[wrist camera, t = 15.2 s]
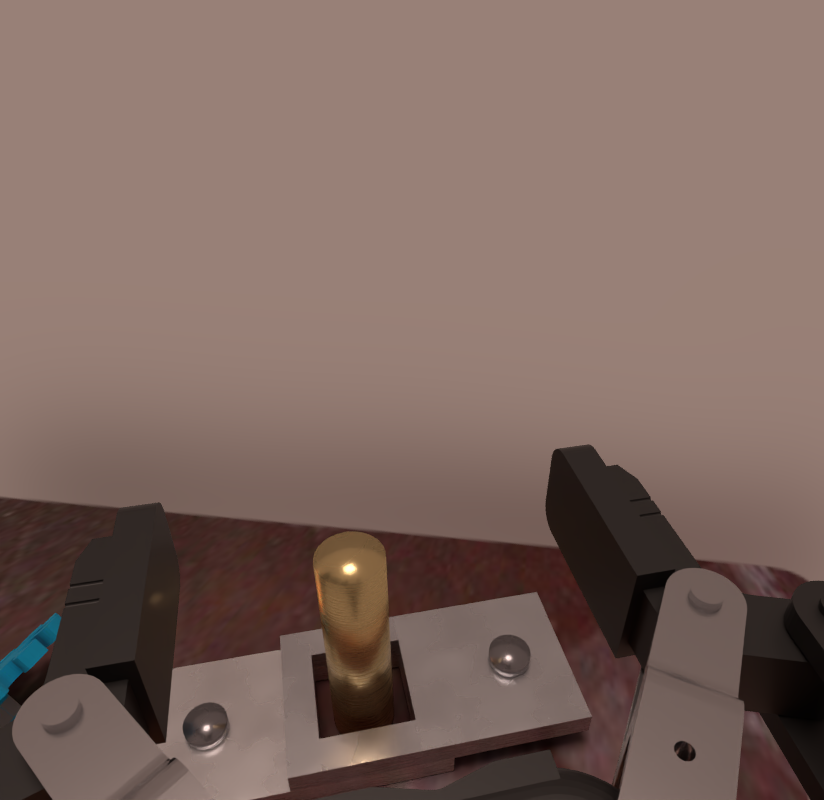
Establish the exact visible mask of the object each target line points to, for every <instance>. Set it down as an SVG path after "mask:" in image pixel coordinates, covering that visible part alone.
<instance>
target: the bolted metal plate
mask: <svg viewBox="0 0 824 800" xmlns="http://www.w3.org/2000/svg"><path fill="white" fill-rule="evenodd" d="M389 627H390V646H391V665H392V668H394V667H399V668H400V672H401V677H402V682H403V686H404V691H405V696H406V701H407V705H408V710H409V715H410V720H411V721H409V722H403V723H398V724H393V725H388V726H383V727H378V728H373V729H368V730H362V731H357V732H352V733H347V734H342V735H337V736H332V737H327V738H322V739H321V738H320V727H319V717H318V707H317V696H316V686H315V682H317V681H322V680H328V679H329V676H328V668H327V661H326V654H325V646H324V639H323V632H322V629H318V630H312V631H306V632H301V633H295V634H289V635H283V636H280V644H281V650H277V651H271V652H265V653H260V654H254V655H248V656H242V657H237V658H231V659H225V660H219V661H214V662H208V663H202V664H196V665H191V666H185V667H179V668H173V670H172V681H171V692H170V703H169V714H168V726H167V737H166V743H161V744H156V745H157V746H158V747H159V748H160V750H161V751H162V752H163V753H164V754H165V755H166V756H167V757H168V758H169V759H172V758H177V759H178V760H179V761H180V762H182V763H183V764H184V765H185V766H186V767H187V769H188V770H189V771H190V772H191V773H192V774H193V775H194V776H195V778H196V779H197V780H198V781H199V782H200V783H201V784H202V786H203V787H204V788H205V789H206V790H207V791H208V792H209V794H210V795H211V796H212V797H213V798H214V799H215V800H313V799H317V798H322V797H327V796H332V795H336V794H341V793H346V792H351V791H355V790H360V789H365V788H370V787H378V786H383V785H388V784H393V783H397V782H402V781H407V780H412V779H417V778H421V777H426V776H431V775H436V774H440V773H445V772H450V771H454V758H456V757H461V756H466V755H470V754H475V753H480V752H485V751H490V750H495V749H500V748H504V747H509V746H514V745H519V744H524V743H529V742H534V741H538V740H543V739H548V738H553V737H558V736H563V735H568V734H572V733H577V732H582V731H587V730H589V726H590V722H591V718H592V716H591V714H590V711H589V709H588V707H587V705H586V702H585V700H584V698H583V696H582V693H581V691H580V689H579V687H578V684H577V682H576V680H575V678H574V675H573V673H572V671H571V669H570V666H569V664H568V662H567V660H566V657H565V655H564V653H563V650H562V648H561V646H560V644H559V641H558V639H557V637H556V635H555V632H554V630H553V628H552V626H551V623H550V621H549V619H548V617H547V614H546V612H545V610H544V608H543V605H542V603H541V601H540V599H539V596H538V594H537V592H535V593H529V594H523V595H517V596H511V597H506V598H500V599H494V600H488V601H482V602H476V603H470V604H465V605H459V606H453V607H447V608H441V609H435V610H429V611H424V612H418V613H412V614H406V615H400V616H394V617H389Z"/></svg>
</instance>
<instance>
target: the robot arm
mask: <svg viewBox="0 0 824 800" xmlns="http://www.w3.org/2000/svg"><path fill="white" fill-rule="evenodd" d="M546 516H547V521H548V524H549V527H550V530H551V532H552V534H553V536H554V538H555V540H556V542H557V544H558V546H559V548H560V550H561V552H562V554H563V556H564V558H565V560H566V562H567V564H568V566H569V568H570V570H571V572H572V574H573V576H574V577H575V579H576V581H577V583H578V585H579V587H580V589H581V591H582V593H583V595H584V597H585V599H586V601H587V603H588V605H589V607H590V609H591V611H592V613H593V615H594V617H595V619H596V621H597V623H598V625H599V626H600V628H601V630H602V632H603V634H604V636H605V638H606V640H607V642H608V644H609V646H610V648H611V650H612V652H613V654H614V656H615V658H620V657H626V656H631V655H636V657H637V659H638V661H639V663H640V664H641V670H640V673H639V677H638V681H637V685H636V689H635V694H634V698H633V702H632V706H631V710H630V714H629V719H628V723H627V727H626V731H625V735H624V740H623V744H622V748H621V752H620V756H619V760H618V764H617V768H616V771H615V775H614V779H613V782H612V785H611V784H609V783H607V782H605V781H603V780H601V779H599V778H596V777H594V776H592V775H589V774H586V773H583V772H579V771H575V770H570V769H565V768H557V767H556V764H555V762H554V759H553V756H552V754H551V751H550V750H545V751H540V752H536V753H531V754H526V755H521V756H517V757H512V758H507V759H502V760H498V761H493V762H492V763H490V764H488V765H486V766H484V767H482V768H480V769H478V770H476V771H474V772H473V773H471V774H469V775H467V776H465V777H463V778H461V779H459V780H457V781H455V782H454V783H452V784H450V785H448V786H446V787H444V788H442V789H439V790H418V789H401V788H384V787H370V788H365V789H360V790H355V791H351V792H346V793H341V794H336V795H332V796H327V797H322V798H317V799H313V800H736V794H737V784H738V773H739V763H740V752H741V742H742V731H743V721H744V710H745V711H753V712H759V713H760V715H761V716H762V718H763V720H764V722H765V723H766V725H767V727H768V728H769V730H770V732H771V733H772V735H773V737H774V739H775V740H776V742H777V744H778V745H779V747H780V749H781V750H782V752H783V754H784V755H785V757H786V759H787V761H788V762H789V764H790V766H791V767H792V769H793V771H794V772H795V774H796V776H797V778H798V779H799V781H800V783H801V784H802V786H803V788H804V789H805V791H806V793H807V794H808V796H809V798H810V800H824V581H810V582H806V583H803V584H801V585H800V586H798V587H797V588H796V590H795V591H794V593H793V596H792V598H791V599H783V598H773V597H764V596H755V595H748V594H743V593H741V591H740V590H739V589H738V588H737V587H736V586H735V585H734V584H733V583H732V582H731V581H730V580H728V579H727V578H725V577H724V576H722V575H720V574H718V573H715V572H713V571H710V570H706V569H702V568H701V567H700V566H699V564H698V563H697V562H696V560H695V559H694V557H693V556H692V555H691V553H690V552H689V550H688V549H687V548H686V547H685V545H684V543H683V542H682V541H681V539H680V538H679V536H678V535H677V534H676V532H675V531H674V529H673V528H672V527H671V525H670V524H669V523H668V521H667V520H666V518H665V517H664V516H663V515H661V511H660V510H659V508H658V507H657V506H656V504H655V503H654V501H651V499H650V496H649V494H648V493H647V492H646V490H645V489H644V487H643V486H642V484H641V483H640V482H639V481H638V479H637V478H635V477H634V476H632V475H631V474H629V473H628V472H627V471H625V470H624V469H623V468H621V467H620V466H618V465H613V466H606V465H605V463H604V462H603V460H602V459H601V458H600V456H599V454H598V453H597V452H596V450H595V449H594V447H592V446H591V445H582V446H575V447H567V448H560V449H556V450H554V452H553V455H552V460H551V467H550V475H549V482H548V489H547V496H546ZM179 591H180V573H179V565H178V559H177V555H176V551H175V548H174V544H173V541H172V537H171V534H170V530H169V527H168V523H167V520H166V516H165V513H164V509H163V507H162V505H161V503H152V504H145V505H138V506H130V507H123V508H120V509H119V510H118V512H117V517H116V521H115V526H114V531H113V536H110V537H103V538H96V539H92V540H91V542H90V543H89V544H88V546H87V547H86V548H85V550H84V551H83V552H82V554H81V555H80V556H79V558H78V559H77V560H76V562H75V566H74V570H73V574H72V578H71V582H70V589H68V593H67V597H66V601H65V608H64V609H63V613H62V617H61V621H60V625H59V629H58V632H57V636H56V640H55V644H54V648H53V652H52V656H51V660H50V664H49V668H48V672H47V675H46V679H45V682H44V685H43V686H42V687H40V688H39V689H38V690H37V691H35V692H34V693H33V694H32V695H31V696H30V697H29V698H28V699H27V700H26V701H25V702H24V704H23V705H22V706H21V708H20V709H19V711H18V713H17V715H16V717H15V719H14V720H13V721H11V722H10V723H8V724H7V725H5V726H3V727H2V728H0V800H215V799H214V798H213V797H212V796H211V795H210V794H209V792H208V791H207V790H206V789H205V788H204V787H203V786H202V784H201V783H200V782H199V781H198V780H197V779H196V778H195V776H194V775H193V774H192V773H191V772H190V771H189V770H188V769H187V767H186V766H185V765H184V764H183V763H182V762H180V761H179V760H178V759H177V758H172V759H169V758H168V757H167V756H166V755H165V754H164V753H163V752H162V751H161V750H160V748H159V747H158V746H157V745H156V744H161V743H166V737H167V726H168V714H169V703H170V692H171V681H172V670H173V658H174V647H175V636H176V625H177V614H178V603H179Z"/></svg>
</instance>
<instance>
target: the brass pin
mask: <svg viewBox="0 0 824 800" xmlns="http://www.w3.org/2000/svg"><path fill="white" fill-rule="evenodd" d="M313 566H314V573H315V581H316V588H317V595H318V603H319V610H320V617H321V624H322V632H323V639H324V646H325V654H326V661H327V668H328V676H329V683H330V690H331V698H332V705H333V712H334V720H335V724H336V727H337V729H338V731H339V732H340V733H341V734H347V733H352V732H357V731H362V730H368V729H373V728H378V727H383V726H388V725H391V724H392V722H393V718H394V704H393V684H392V665H391V646H390V627H389V608H388V589H387V569H386V553H385V549H384V547H383V545H382V544H381V543H380V542H379V541H378V540H377V539H376V538H374V537H373V536H371V535H368V534H366V533H362V532H343V533H339V534H336V535H334V536H331V537H329V538H328V539H326V540H325V541H324V542H322V543H321V544H320V545H319V547H318V548H317V549H316V551H315V554H314V557H313Z"/></svg>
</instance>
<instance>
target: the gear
mask: <svg viewBox="0 0 824 800" xmlns="http://www.w3.org/2000/svg"><path fill="white" fill-rule="evenodd" d="M60 621H61V617H60V616H59V615H58V614H57V613H55V614H54V615H53V616H52V617H50V618H49V619H48V620H47V621H46V622H45V623H44V624H43V625H40V626H39V627H38V628H37V629H35V630H34V631H33V632H32V633H31V634H30V635H29V636H28V637H27V638H26V639H25V640H24V641H23V642H22V643H21V644H20V645H19V646H18V647H17V648H16V649H14V650H12V651H11V652H10V653H9V654H8V655H7V656H6V657H5V658H4V659H2V660H1V661H0V728H2V727H3V726H5V725H7V724H8V723H10V722H11V721H13V720H14V719H15V717H16V715H17V713H18V711H19V709H20V708H21V705H20V704H19V703H17V702H16V701H15V700H14V699H13V698H12V697H10V696H9V695H8V694H7V693H8V692H9V689H8V688H9V686H10V685H11V684H12V683H13V682H14V681H15V679H16V678H17V677H18V676H19V675H20V674H22V673H23V672H24V673H26V672H27V671H28V670H29V669H31V668H32V667H33V666H34V665H35V663H36V662H37V661H38V660H39V659H40V658H41V657H42V656H43V655H44V654H45V653H46V652H47V651H48V649H47V648H46V647H48V646H49V645H51V644H52V643H53V642H54V641H55V640H56V636H57V632H58V629H59V625H60Z"/></svg>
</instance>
